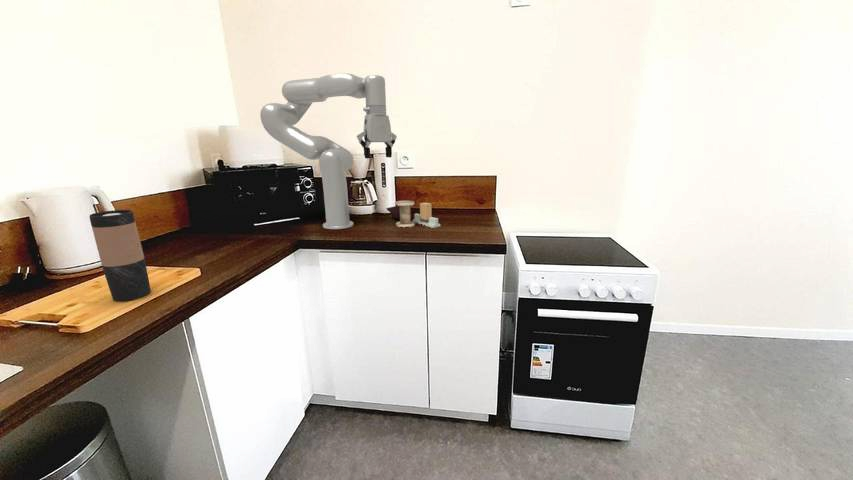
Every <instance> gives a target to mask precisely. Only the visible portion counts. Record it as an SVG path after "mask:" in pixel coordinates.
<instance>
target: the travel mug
mask: <svg viewBox="0 0 853 480" xmlns="http://www.w3.org/2000/svg"><path fill="white" fill-rule="evenodd" d="M89 222H90V225H91V229H92V232H93V236H94V241H95V244H96V249H97V252H98V256H99V261H100V263H101V267H102V270H103V273H104V276H105V280H106V282H107V287H108V289H109V292H110V294H111V297H112V300H113V301H114V302H118V303H121V302H130V301H135V300H138V299H141V298H145V297H146V296H148V295H149V294H150V293H151V291H152V290H151V289H152V288H151V285H150V280H149V274H148V269H147V264H146V263H147V262H146V259H145V254H144V251H143V245H142V243H141V238H140V234H139V231H138V227H137V222H136V219H135V216H134V212H133V210H130V209H117V210H116V209H115V210H105V211H99V212H94V213H91V214H90V215H89Z"/></svg>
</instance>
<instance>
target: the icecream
mask: <svg viewBox="0 0 853 480" xmlns="http://www.w3.org/2000/svg"><path fill="white" fill-rule="evenodd" d="M385 209H386V210H387V212H389V213H390V214H391V216H392V217H393V219H395V220H397V219H398V220H400V206H396V205H394V206H390V207H386V208H385ZM410 220H412V217H411V216H410Z"/></svg>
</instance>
